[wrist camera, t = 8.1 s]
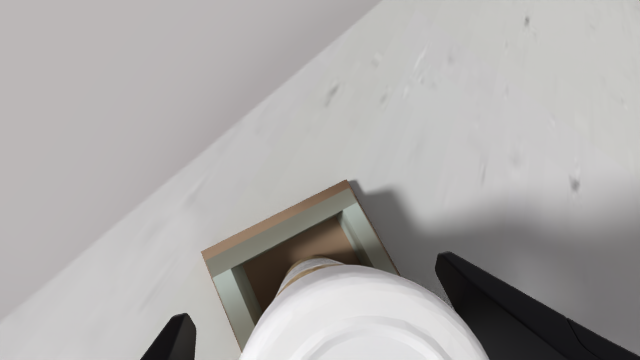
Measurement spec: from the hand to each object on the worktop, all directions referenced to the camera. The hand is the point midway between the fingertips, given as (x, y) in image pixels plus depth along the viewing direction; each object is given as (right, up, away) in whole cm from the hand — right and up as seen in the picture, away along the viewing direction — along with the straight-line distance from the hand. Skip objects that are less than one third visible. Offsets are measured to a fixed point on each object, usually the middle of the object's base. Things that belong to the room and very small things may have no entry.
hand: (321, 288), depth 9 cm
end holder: (0, -3, +8) cm, 9 cm away
